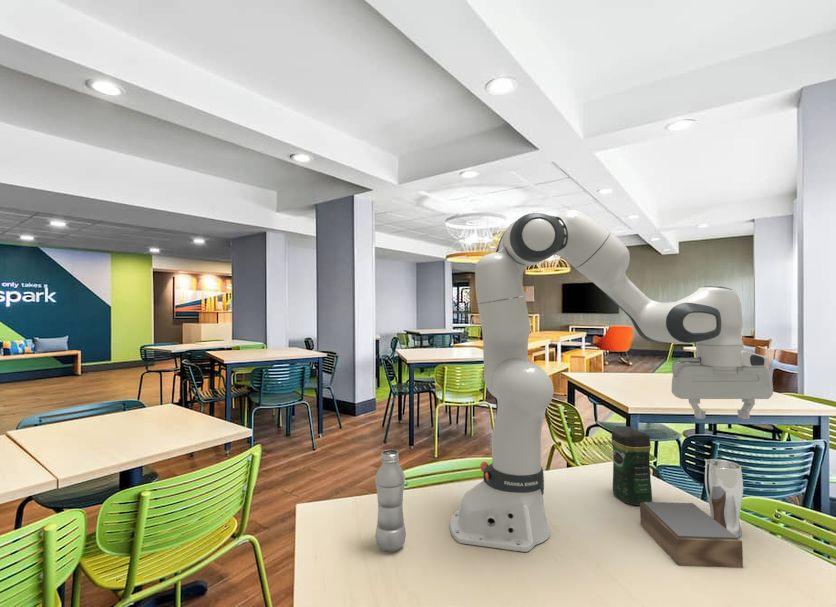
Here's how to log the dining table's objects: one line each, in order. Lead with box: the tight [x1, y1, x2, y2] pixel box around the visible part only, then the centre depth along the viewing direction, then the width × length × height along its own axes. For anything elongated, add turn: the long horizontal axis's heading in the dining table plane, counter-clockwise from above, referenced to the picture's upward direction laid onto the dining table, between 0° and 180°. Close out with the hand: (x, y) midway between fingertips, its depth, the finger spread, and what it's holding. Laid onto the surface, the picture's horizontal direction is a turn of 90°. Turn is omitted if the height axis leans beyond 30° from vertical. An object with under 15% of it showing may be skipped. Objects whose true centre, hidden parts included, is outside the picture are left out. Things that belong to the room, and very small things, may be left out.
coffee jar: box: [611, 425, 653, 506], centre depth 111 cm, size 10×8×19 cm
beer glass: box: [704, 458, 744, 539], centre depth 94 cm, size 7×7×15 cm
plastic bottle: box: [374, 449, 407, 552], centre depth 89 cm, size 6×7×20 cm
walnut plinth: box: [639, 501, 744, 568], centre depth 89 cm, size 12×16×5 cm
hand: (721, 418), depth 95 cm, fingers open, 8 cm apart
